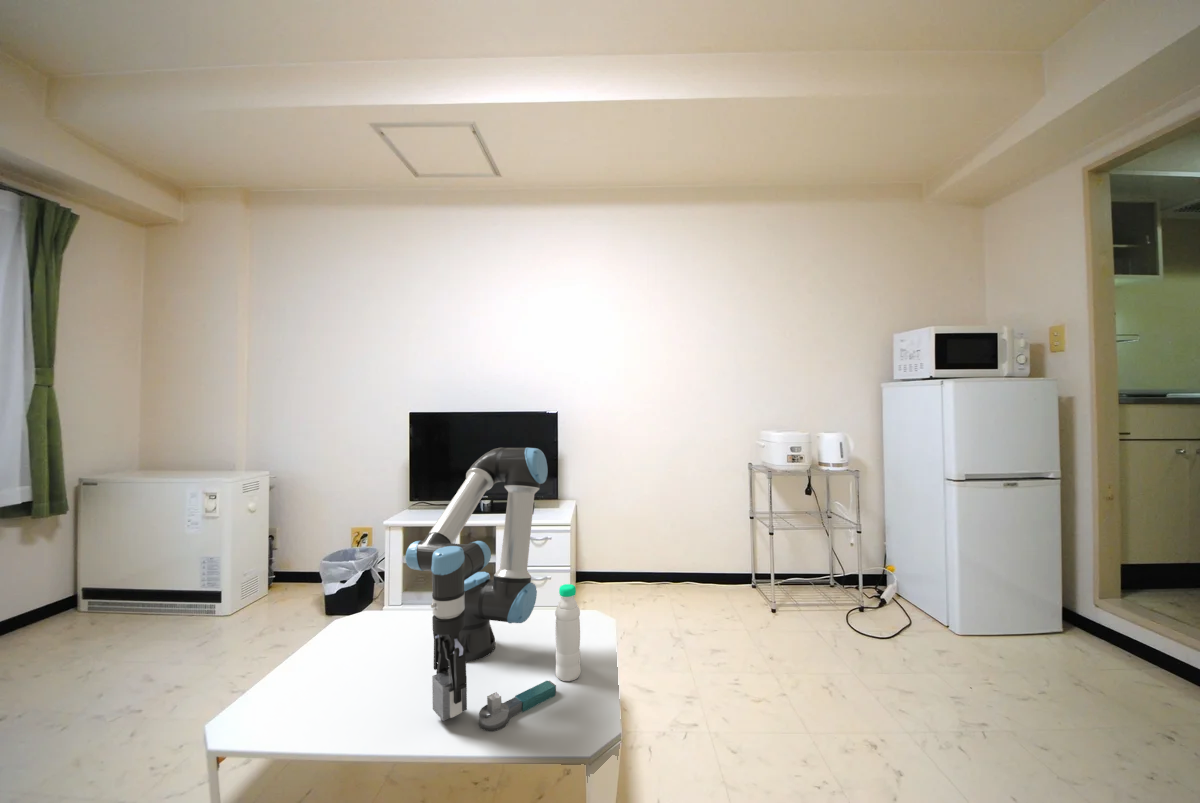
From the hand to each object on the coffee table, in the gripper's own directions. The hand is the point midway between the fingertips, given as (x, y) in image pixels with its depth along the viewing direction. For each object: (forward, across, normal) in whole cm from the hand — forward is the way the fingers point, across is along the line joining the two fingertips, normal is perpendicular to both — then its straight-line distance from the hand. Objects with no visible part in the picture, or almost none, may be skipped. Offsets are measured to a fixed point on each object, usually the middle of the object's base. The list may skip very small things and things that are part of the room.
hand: (449, 707), depth 111 cm
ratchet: (+3, +8, +14) cm, 17 cm away
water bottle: (+3, +5, +33) cm, 33 cm away
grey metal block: (0, 0, 0) cm, 0 cm away
